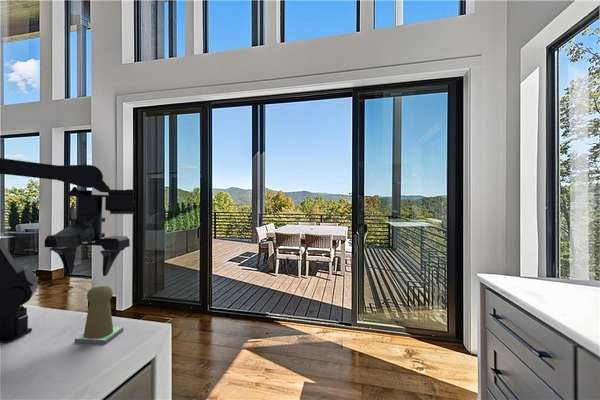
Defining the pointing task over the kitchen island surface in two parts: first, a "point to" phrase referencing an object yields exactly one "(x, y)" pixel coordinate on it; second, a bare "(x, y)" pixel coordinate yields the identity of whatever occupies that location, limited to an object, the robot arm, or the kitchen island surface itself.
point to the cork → (99, 313)
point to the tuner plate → (99, 340)
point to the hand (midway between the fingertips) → (87, 274)
